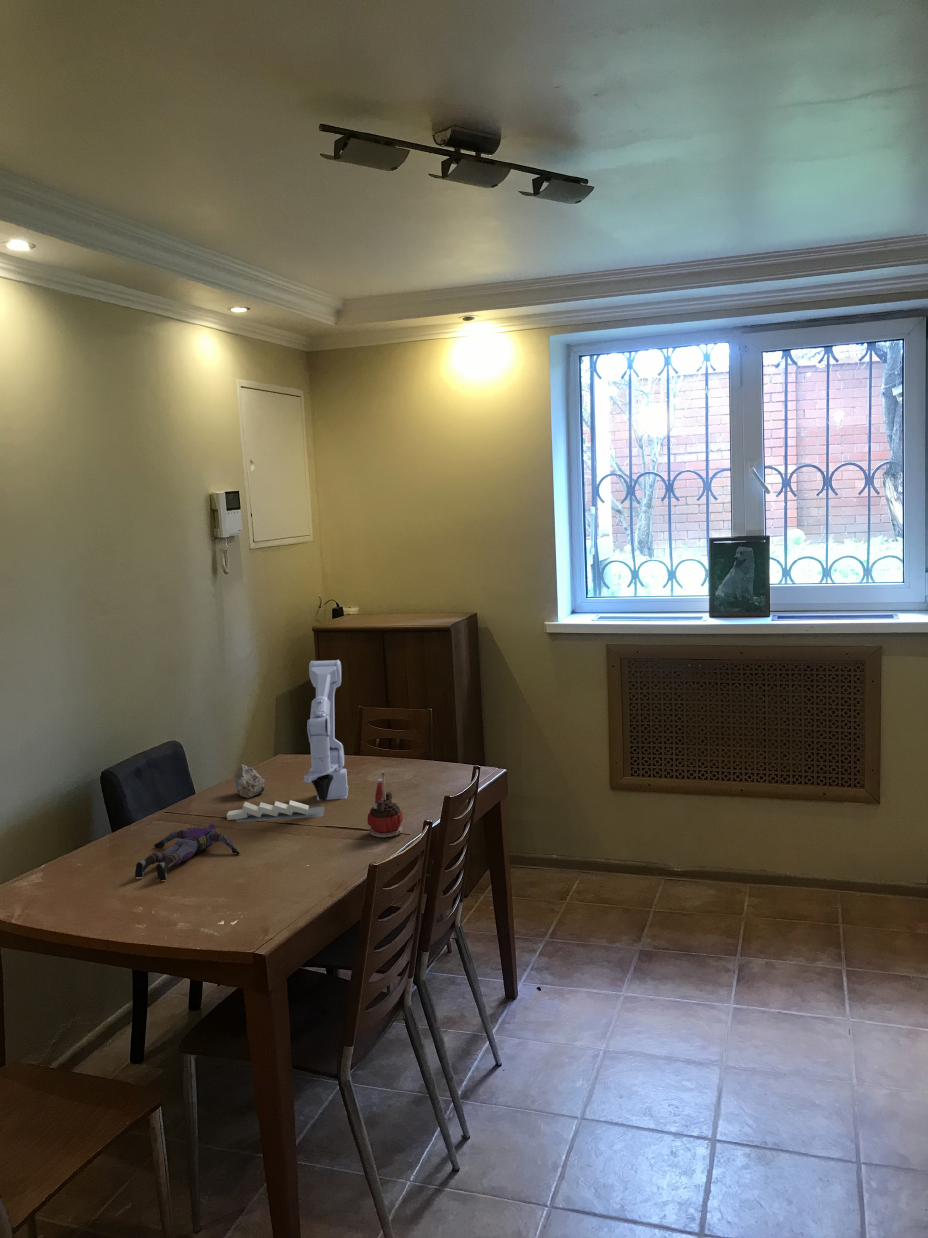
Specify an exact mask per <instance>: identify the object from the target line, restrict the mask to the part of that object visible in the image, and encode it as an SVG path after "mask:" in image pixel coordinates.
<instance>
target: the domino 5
mask: <svg viewBox="0 0 928 1238" xmlns="http://www.w3.org/2000/svg"><path fill="white" fill-rule="evenodd" d="M287 805H288V808H287V809H289V810H292V811H295V812H299V813H302V814H305V815H306V814H307V811H308V808H310V805H308V804H304V803H302V802H297V801H294V800H291V799H290V800H289V803H288V804H287Z"/></svg>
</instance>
